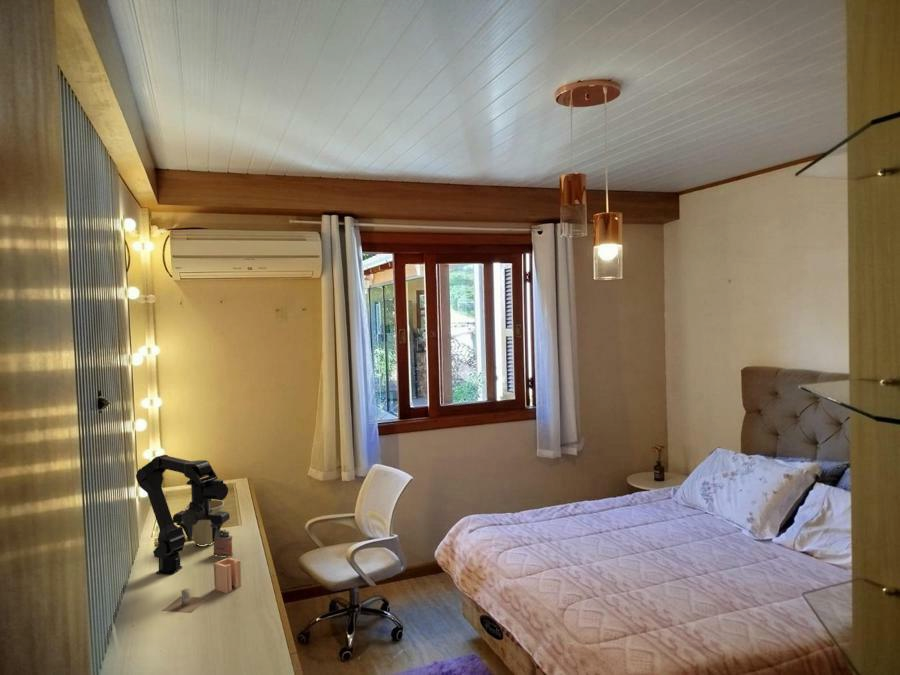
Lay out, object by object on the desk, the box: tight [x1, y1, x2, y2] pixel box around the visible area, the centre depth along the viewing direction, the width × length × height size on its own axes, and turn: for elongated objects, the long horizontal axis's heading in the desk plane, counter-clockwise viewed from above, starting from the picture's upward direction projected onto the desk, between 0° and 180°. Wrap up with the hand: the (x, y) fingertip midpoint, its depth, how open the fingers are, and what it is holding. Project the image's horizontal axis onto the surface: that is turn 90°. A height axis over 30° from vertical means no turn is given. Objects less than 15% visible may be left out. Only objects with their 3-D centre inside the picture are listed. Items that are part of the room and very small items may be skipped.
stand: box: [161, 588, 210, 614], centre depth 192 cm, size 10×10×5 cm
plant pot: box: [184, 499, 225, 545], centre depth 248 cm, size 15×15×16 cm
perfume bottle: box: [212, 529, 234, 558], centre depth 235 cm, size 8×3×10 cm, turn 74°
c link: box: [213, 557, 242, 594], centre depth 204 cm, size 6×6×9 cm
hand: (202, 541), depth 214 cm, fingers open, 9 cm apart
